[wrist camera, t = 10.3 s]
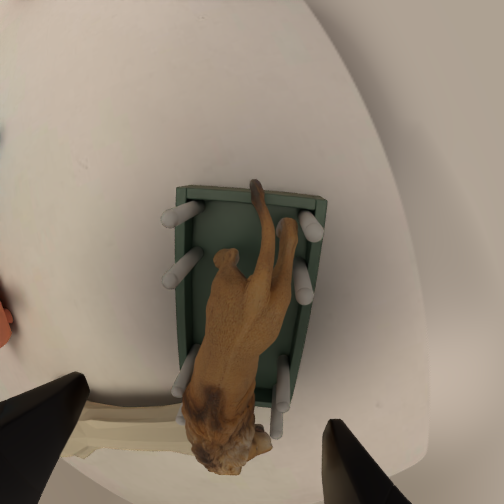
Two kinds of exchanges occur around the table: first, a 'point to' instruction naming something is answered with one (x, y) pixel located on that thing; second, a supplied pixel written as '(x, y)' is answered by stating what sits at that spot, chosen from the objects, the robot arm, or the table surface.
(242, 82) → the table surface
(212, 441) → the lion figurine
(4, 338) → the teapot
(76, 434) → the faceted club
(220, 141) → the table surface
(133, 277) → the table surface
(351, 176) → the table surface
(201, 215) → the drying rack
